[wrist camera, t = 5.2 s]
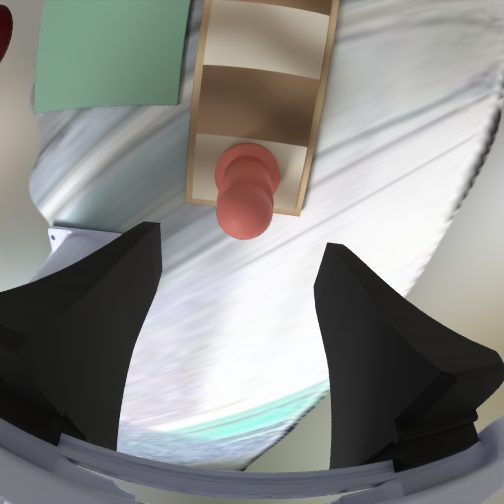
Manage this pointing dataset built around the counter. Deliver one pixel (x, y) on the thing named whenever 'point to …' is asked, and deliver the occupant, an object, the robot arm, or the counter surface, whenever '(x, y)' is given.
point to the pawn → (246, 190)
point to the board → (259, 90)
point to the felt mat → (109, 53)
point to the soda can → (5, 29)
